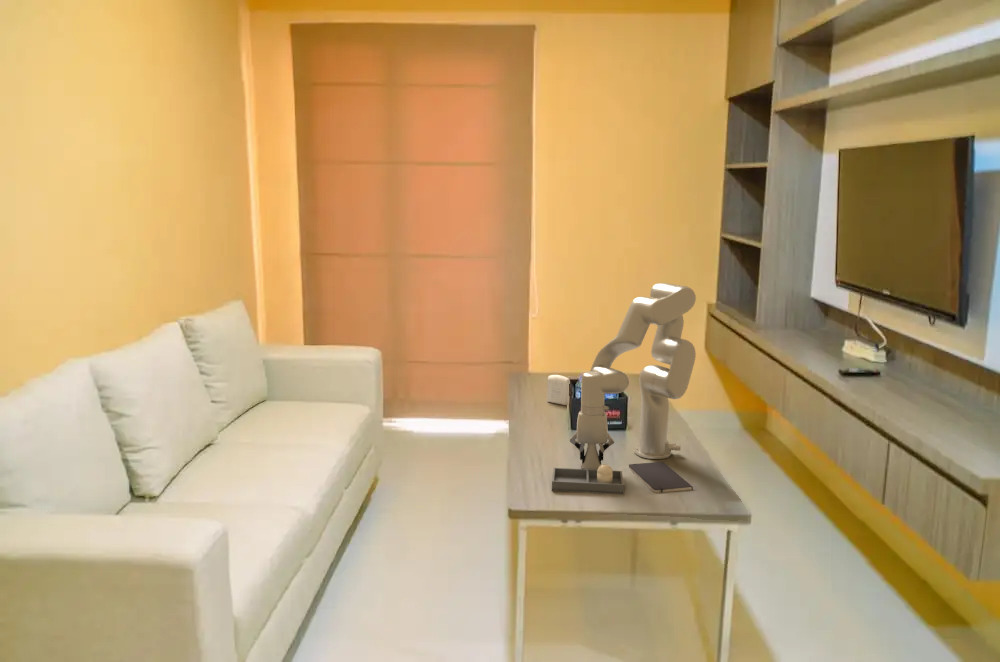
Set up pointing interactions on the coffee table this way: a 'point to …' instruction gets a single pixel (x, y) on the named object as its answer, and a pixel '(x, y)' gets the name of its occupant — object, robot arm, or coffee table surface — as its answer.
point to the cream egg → (604, 474)
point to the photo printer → (558, 389)
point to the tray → (585, 481)
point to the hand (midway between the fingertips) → (591, 461)
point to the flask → (591, 458)
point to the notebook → (659, 477)
